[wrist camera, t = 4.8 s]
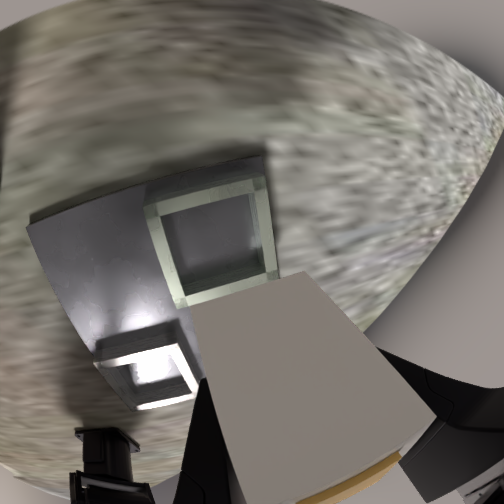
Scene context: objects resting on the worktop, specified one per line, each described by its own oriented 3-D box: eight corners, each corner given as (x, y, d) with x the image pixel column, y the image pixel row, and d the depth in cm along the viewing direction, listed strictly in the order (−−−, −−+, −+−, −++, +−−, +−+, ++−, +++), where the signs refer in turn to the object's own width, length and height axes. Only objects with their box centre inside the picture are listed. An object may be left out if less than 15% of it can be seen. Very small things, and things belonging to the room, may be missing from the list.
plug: (307, 348, 11) (393, 473, 6) (218, 379, 11) (273, 528, 5) (304, 270, 10) (441, 422, 4) (189, 306, 9) (253, 520, 3)
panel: (285, 358, 26) (293, 372, 24) (132, 401, 23) (132, 417, 21) (258, 154, 17) (270, 158, 15) (29, 224, 14) (17, 235, 12)
